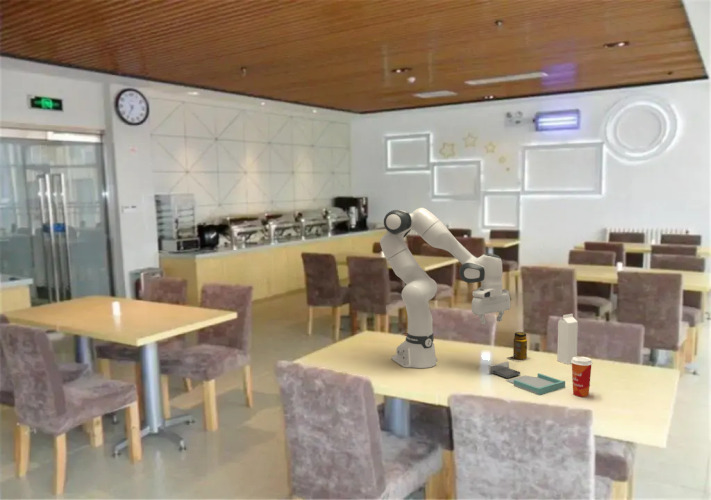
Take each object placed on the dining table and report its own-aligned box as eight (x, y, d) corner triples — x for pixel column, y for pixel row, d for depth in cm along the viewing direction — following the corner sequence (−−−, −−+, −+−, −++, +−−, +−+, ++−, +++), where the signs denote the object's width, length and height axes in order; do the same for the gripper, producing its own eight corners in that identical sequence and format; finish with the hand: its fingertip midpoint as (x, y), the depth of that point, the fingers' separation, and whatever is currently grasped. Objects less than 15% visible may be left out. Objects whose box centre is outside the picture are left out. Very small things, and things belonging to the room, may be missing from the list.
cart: (488, 374, 250) (488, 366, 250) (506, 369, 256) (507, 361, 255) (504, 379, 242) (504, 371, 242) (522, 375, 248) (522, 366, 248)
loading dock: (502, 383, 241) (502, 375, 240) (527, 376, 249) (527, 368, 248) (539, 397, 225) (539, 388, 224) (565, 389, 232) (565, 381, 232)
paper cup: (566, 391, 228) (567, 356, 226) (585, 390, 229) (586, 355, 227) (575, 398, 220) (576, 362, 219) (595, 397, 221) (596, 361, 219)
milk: (557, 361, 267) (557, 313, 264) (566, 359, 269) (567, 312, 267) (567, 364, 261) (568, 316, 259) (577, 362, 264) (577, 314, 262)
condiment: (530, 358, 271) (531, 333, 270) (518, 362, 266) (518, 336, 265) (518, 355, 277) (518, 330, 276) (506, 358, 272) (506, 333, 271)
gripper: (503, 287, 261) (503, 317, 262) (469, 292, 250) (469, 324, 251) (514, 289, 255) (513, 320, 257) (479, 294, 244) (479, 327, 246)
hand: (491, 322), depth 254 cm, fingers open, 8 cm apart
